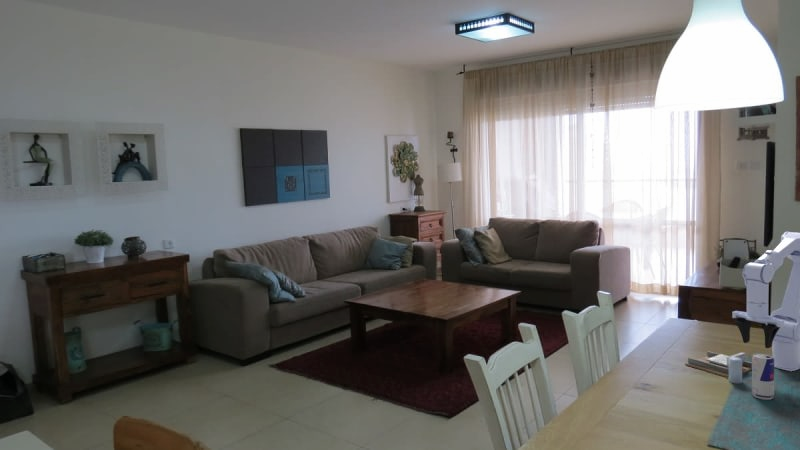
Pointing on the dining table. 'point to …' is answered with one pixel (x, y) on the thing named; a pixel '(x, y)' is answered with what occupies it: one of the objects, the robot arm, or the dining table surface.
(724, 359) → the cover
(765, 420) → the dining table surface
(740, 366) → the light blue rounded cylinder
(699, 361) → the wooden square tray
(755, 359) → the energy drink
